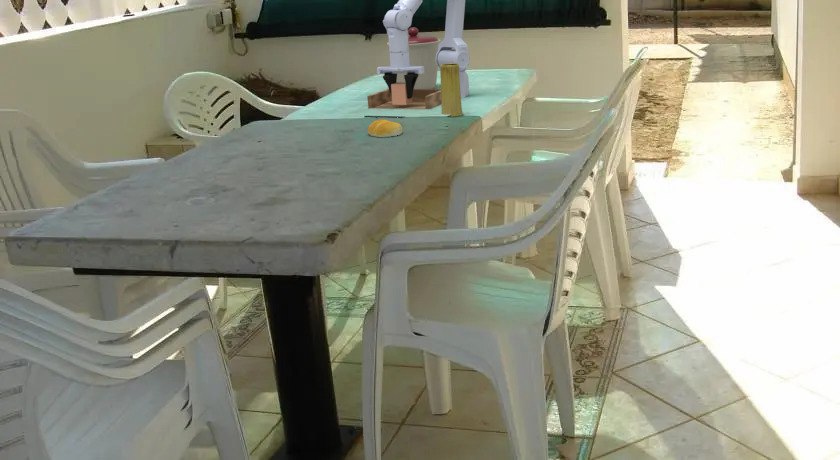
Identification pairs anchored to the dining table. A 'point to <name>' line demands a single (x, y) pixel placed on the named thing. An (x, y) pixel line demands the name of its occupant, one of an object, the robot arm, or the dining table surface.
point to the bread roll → (384, 128)
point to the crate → (419, 101)
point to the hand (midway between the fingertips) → (402, 98)
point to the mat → (384, 116)
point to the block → (399, 94)
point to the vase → (450, 90)
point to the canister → (422, 58)
